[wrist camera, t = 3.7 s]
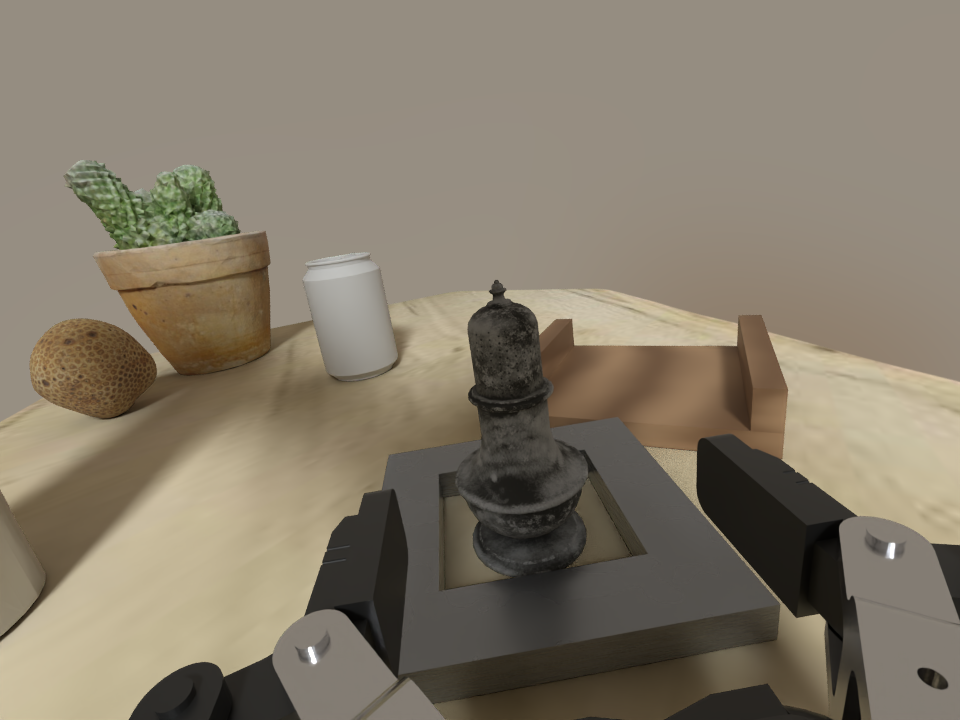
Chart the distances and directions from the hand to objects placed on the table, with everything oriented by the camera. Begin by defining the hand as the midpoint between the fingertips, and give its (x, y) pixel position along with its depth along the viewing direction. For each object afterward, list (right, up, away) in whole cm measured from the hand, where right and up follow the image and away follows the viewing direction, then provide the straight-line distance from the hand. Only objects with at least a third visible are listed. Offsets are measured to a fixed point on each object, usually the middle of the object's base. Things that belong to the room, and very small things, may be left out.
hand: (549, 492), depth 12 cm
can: (-14, +2, +37) cm, 39 cm away
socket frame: (0, -5, +10) cm, 11 cm away
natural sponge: (-39, -2, +34) cm, 52 cm away
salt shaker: (0, -5, +10) cm, 11 cm away
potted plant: (-36, +3, +49) cm, 61 cm away
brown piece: (+10, +1, +22) cm, 24 cm away
